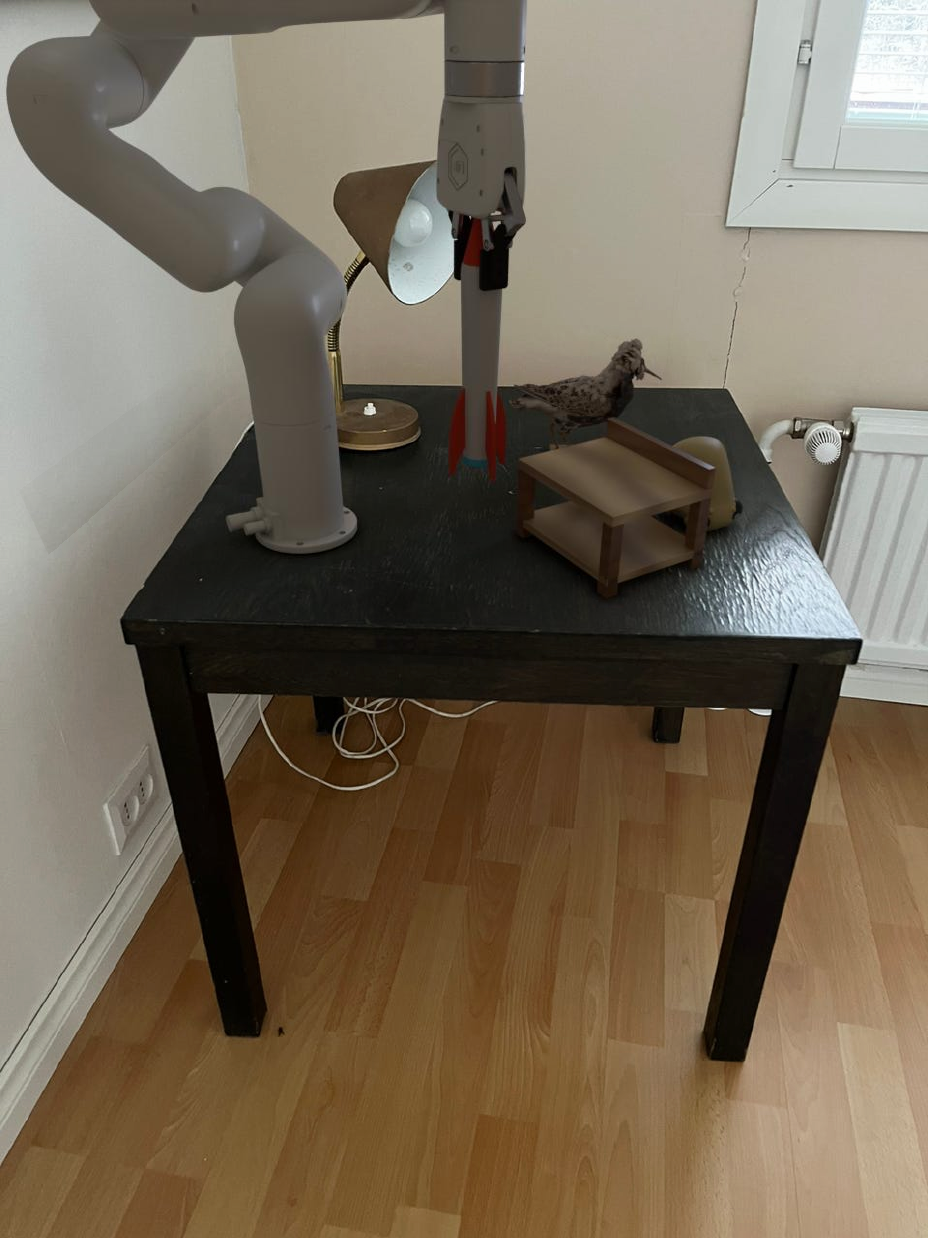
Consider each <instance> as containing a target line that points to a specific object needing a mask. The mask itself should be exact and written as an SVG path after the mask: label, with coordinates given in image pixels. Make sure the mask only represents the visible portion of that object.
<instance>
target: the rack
mask: <svg viewBox="0 0 928 1238" xmlns="http://www.w3.org/2000/svg"><path fill="white" fill-rule="evenodd" d="M571 445H572V446H568V447H564V448H560V449H556V450H552V451H549V450H547V451H544V452H539V453H536V454H532V455H527V456H523V457H520V458H519V457H518V459H517V460H518V461H517V464H518V465H517V492H516V495H517V497H516V528H515V534H516V535H518V536H519V537H520V538H521V539H526V538H530V537H533V536H534V537H536V538H537V539H539V540H540V541H541V542H543V543H544V544H545V545H547V546H549V547H550V548H552V549H553V550H554V551H556V552H557V553H558V554H560V555H561V556H562V557H564V558H565V559H566V560H568V561H569V562H571V563H572V564H574V565H575V566H577V567H578V568H580V569H581V570H582V571H584V572H585V573H587V574H588V575H589V576H591V577H592V578H593V579H595V580H596V581H597V589H596V592H597V594H599V595H600V596H601V597H603V598H604V599H608V598H611V597H615V596H617V594H618V586H619V583H622V582H626V581H629V580H632V579H635V578H638V577H640V576H644V575H647V574H649V573H653V572H656V571H659V570H662V569H665V568H667V567H671V566H674V565H676V564H680V563H681V565H682V566H684V567H685V568H687V569H689V570H694V569H697V568H700V567H702V562H703V561H702V560H703V554H704V548H705V543H706V542H705V541H706V534H707V531H706V529H707V523H708V516H709V509H710V503H711V497H712V490H713V484H714V477H715V471H716V468H715V467H713V466H711V465H709V464H707V463H705V462H703V461H701V460H699V459H697V458H695V457H693V456H691V455H689V454H687V453H685V452H683V451H681V450H679V449H677V448H674V447H672V446H673V445H670V444H669V443H666V442H665V441H662V440H661V439H658V438H657V437H655V436H653V435H650V434H648V433H646V432H644V431H642V430H640V429H638V428H637V427H634V426H632V425H630V424H628V423H626V422H624V421H622V420H620V419H618V418H614V417H612V418H608V419H607V422H606V430H605V437H601V438H596V439H592V440H588V441H585V442H581V443H577V444H571ZM537 481H538V482H540V483H541V484H542V485H545V486H546V487H547V488H549V489H551V490H552V491H554V492H555V493H557V494H558V495H560V496H562V497H563V498H565V499H567V500H568V501H565V502H561V503H558V504H554V505H550V506H546V507H543V508H540V509H536V488H537V487H536V485H537ZM689 504H690V508H689V516H688V523H687V526H686V531H685V535H683V534H681V533H680V532H678V531H676V530H675V529H673V528H671V527H669V526H668V525H666V524H664V523H662V522H661V521H660V520H658V519H656V518H654V517H653V516H655V515H658V514H662V513H665V512H669V511H670V510H672V509H675V508H679V507H682V506H685V505H689Z"/></svg>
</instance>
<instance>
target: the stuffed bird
mask: <svg viewBox="0 0 928 1238" xmlns="http://www.w3.org/2000/svg"><path fill="white" fill-rule="evenodd" d="M642 350H643V343H642V341H641V340H640V339H639V338H636V337H635V338H634V339H631V341H629V340H625V341H623V342H622V343H620V344H619V345H618V347H617V351H616V352H614V354H613V356H611V359H610V360H611V361H610V362H609V363H608V364H607V366H605V367H604V368H603V369H602V370H601V371H600V373H599V374H597V375H594V376H593V375H580V376H576V377H575V376H574V377H569V378H565V379H562V380H559V381H555V382H552V383H550V384H541V385H538V384H534V383H524V384H522V385H521V384H520V385H519V384H513V387H514V388H516V391H518V392H521V393H524V394H522V395H521V396H520V397H519V398H517V399H515V400H513V399H509V404H510V406H512V408H513V409H514V410H515V411H516V412H517V413H519V412H520V411H524V410H532V411H536V412H539V413H543V414H546V416H547V417H548V419H549V420H550V421H551V422H552V423H551V424H550V425H549V431H550V434H551V436H552V440H553V442H554V444H553V443H550V444H549V447H548V448H549V449H548V451H552V450H556V449H560V448H564V447H568V446H572V445H573V444H571V443H570V441H568V438H567V437H568V435H570V434H573V432H572V430H576V429H580V428H586V427H592V426H598V425H600V424H602V423H605V422H606V423H607V419H608V418H612V417H614V418H616V419H618V418H619V417H620V416H621V415H622V414H623V412H624V411H625V409H626V407H627V406H628V405H629V404H630V402H631V401H632V400H633V398H634V396H635V386H634V382H633V380H634V379H635V377H636V379H635V380H636V381H639V380H640V381H643V379H644V377H645V373H646V374H649V375H651V376H652V377H655V378H656V379H659V380H660V381H663V378H662V377H660V376H659V375H657V374H656V373H654V372H653V371H651V370H650V369H649V368H647V366H646V364H645V359H644V357H643V356H642ZM555 426H557V427H558V426H559V429H558V430H557V431H556V433H555V432H554V427H555ZM555 434H556V435H557V434H558V435H559V438H560V437H561V438H562V440H563V442H564V443H565V444H558V441H557V438H556V435H555Z"/></svg>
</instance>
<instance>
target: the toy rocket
mask: <svg viewBox="0 0 928 1238" xmlns="http://www.w3.org/2000/svg"><path fill="white" fill-rule="evenodd" d="M490 215H492V213H490ZM492 225H493V232H494V230H495V228H494V222H492ZM480 249H484V245H483V234H482V223H481V219H478V218H474V220H473V224H472V228H471V232H470V236H469V240H468V244H467V247H466V251H465V255H464V258H463V262H462V266H461V280H460V309H461V310H460V312H461V316H460V317H461V327H460V328H461V381H462V382H461V392H460V394H459V396H458V398H457V401H456V403H455V406H454V409H453V413H452V416H451V419H450V425H449V426H450V427H449V434H448V475H449V477H450V478H452V477H453V476H454V475H455V474H456V470H457V468H458V467H457V466H458V465H459V464H458V463H459V460H460V459H462V462H463V464H465V466H467V467H471V468H476V469H477V468H478V469H479V468H486V467H488V474H489V481H490V482H491V484H493V483H496V470H497V469H496V467H497V466H496V465H497V459H498V463H499V464H500V465H502V466H503V467H505V466H506V465H505V464H506V449H507V422H506V413H505V409H504V405H503V401H502V398H501V396H500V394H499V392H498V382H499V361H500V342H501V323H502V306H503V305H502V303H503V302H502V301H503V289H498V290H491V291H482V290H480V289H479V255H480ZM461 457H462V458H461Z"/></svg>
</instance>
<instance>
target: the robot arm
mask: <svg viewBox="0 0 928 1238" xmlns="http://www.w3.org/2000/svg"><path fill="white" fill-rule="evenodd" d="M88 2H89V3H90V6H91V8H92V9H93V11H94V13H95V15H97V17H98V18H99V21H98V23H97V24H96V26H95V27H94V29H93V31H92V32H91V33H90V35H83V36H82V35H81V36H62V37H61V36H60V37H52V38H47V39H43V40H39V41H37V42H35V43H32V44H30V45H28V46H27V47H25V48H23V50H21V52H19V53H18V54H17V55H16V56H15V58H14V60H13V61H12V63H11V65H10V67H9V70H8V74H7V77H6V88H5V91H6V92H5V96H6V105H7V111H8V114H9V118H10V122H11V125H12V128H13V131H14V134H15V135H16V138H17V141H18V142H19V144H20V146H21V148H22V149H23V151H24V153H25V154H26V156H27V157H28V159H29V160H30V162H31V163H32V164H33V165H34V167H35V168H36V169H37V171H39V172H40V174H41V175H42V176H43V177H44V178H45V179H46V180H48V181H49V182H50V184H52V185H53V186H54V187H55V188H56V189H58V190H59V191H60V192H62V194H64V195H65V196H67V197H68V198H69V199H70V200H72V201H73V202H74V203H76V204H77V205H79V206H80V207H82V208H83V209H84V210H86V211H87V212H88V213H90V214H91V215H93V216H94V217H95V218H97V219H98V220H99V221H101V222H102V223H103V224H105V225H106V226H107V227H109V228H110V229H111V230H112V231H113V232H115V233H116V234H117V235H118V236H120V237H121V238H122V239H123V240H124V241H125V242H127V243H128V244H130V245H131V246H132V247H133V248H135V249H136V250H137V251H138V252H140V253H141V254H143V255H144V256H145V257H147V259H149V260H150V261H152V262H153V263H154V264H156V265H157V266H158V267H159V268H160V269H162V270H163V271H165V272H166V273H167V275H169V276H171V277H172V278H173V279H175V280H176V281H177V282H179V283H180V284H182V285H183V286H185V287H186V288H188V289H189V290H192V291H195V292H199V293H204V294H205V293H213V292H217V291H219V290H222V289H224V288H226V287H227V286H229V285H231V284H232V283H234V282H235V283H237V284H238V285H239V286H240V287H242V288H241V290H240V291H239V294H238V295H237V298H236V300H235V301H236V302H235V305H234V310H233V327H234V333H235V337H236V342H237V345H238V349H239V352H240V356H241V358H242V362H243V363H242V364H243V366H244V370H245V375H246V381H247V385H248V391H249V401H250V407H251V414H252V419H253V427H254V434H255V441H256V450H257V457H258V466H259V474H260V481H261V489H262V497H256V499H255V500H256V506H253V507H250V510H249V511H245V512H238V513H233V514H230V515H226V517H225V522H226V525H227V528H228V530H229V532H236V531H239V530H243V531H244V534H245V536H251V535H255V539H256V540H257V541H258V543H260V544H261V545H262V546H263V547H265V548H266V549H269V550H272V551H275V552H280V553H283V554H291V555H303V554H304V555H305V554H315V553H321V552H325V551H329V550H332V549H335V548H338V547H339V546H342V545H343V544H345V543H347V542H348V541H350V540H351V539H352V538H353V537H354V536H355V535H356V532H357V531H358V519H357V516H356V514H355V513H354V512H353V511H352V510H351V509H349V508H347V507H345V506H344V499H343V486H342V474H341V472H342V471H341V461H340V460H341V459H340V449H339V447H340V446H339V435H338V425H337V423H338V422H337V412H336V411H337V410H336V401H335V391H334V390H335V389H334V382H333V376H332V371H331V368H330V367H331V366H330V363H329V359H328V355H327V350H326V342H325V341H326V336H327V334H328V333H329V332H330V331H331V330H332V329H333V328H334V326H335V325H336V324H337V323H338V322H339V321H340V320H341V318H342V316H343V314H344V312H345V310H346V307H347V302H348V288H347V284H346V283H347V282H346V279H345V277H344V275H343V273H342V271H341V270H340V268H339V267H338V266H337V264H336V263H335V262H334V261H333V260H332V259H331V258H330V257H329V256H328V255H327V254H326V253H325V252H324V250H322V249H320V248H319V247H318V246H317V245H316V244H314V243H313V242H312V241H311V240H309V239H308V238H307V237H306V236H305V235H303V234H302V233H301V232H300V231H298V230H297V229H296V228H295V227H293V226H292V224H289V222H287V221H286V219H285V220H284V219H283V218H282V217H281V216H279V214H277V213H276V212H275V211H274V210H272V209H271V208H270V207H268V206H267V205H266V204H264V203H263V202H262V201H260V200H259V199H258V198H256V197H254V196H253V195H251V194H249V193H247V192H246V191H244V190H241V189H238V188H234V187H231V186H215V187H210V188H207V189H204V190H202V191H200V190H199V191H198V190H196V189H195V188H192V187H191V186H190V185H188V184H187V183H185V182H184V181H182V180H181V179H180V178H178V177H177V176H176V175H175V174H174V173H172V172H171V171H169V170H168V169H167V168H166V167H164V166H163V165H162V164H161V163H160V162H159V161H158V160H156V159H155V158H154V157H152V156H151V155H150V154H149V153H146V152H145V151H143V150H141V149H139V148H138V147H136V146H134V145H133V144H131V143H129V142H128V141H126V140H124V139H122V138H121V137H119V136H117V135H116V134H115V133H114V132H112V131H111V129H115V128H119V127H123V126H126V125H129V124H131V123H133V122H135V121H136V120H138V119H139V118H140V117H142V116H143V114H144V113H146V111H148V109H150V107H151V105H152V104H153V102H154V101H155V100H156V98H157V97H158V95H159V94H160V93H161V91H162V89H163V88H164V86H165V85H166V84H167V82H168V80H170V77H172V74H173V73H174V72H175V70H176V68H177V67H178V66H179V64H180V62H181V61H182V60H183V58H184V57H185V56H186V54H187V52H188V50H189V48H190V47H191V45H192V44H193V42H194V41H195V39H196V38H206V37H221V36H241V35H258V34H269V33H274V32H275V31H277V30H279V29H282V28H285V27H286V28H287V27H292V26H302V25H316V24H330V23H347V22H364V21H365V22H366V21H391V20H392V21H393V20H411V19H418V18H424V17H429V16H435V15H443V23H444V24H443V30H444V31H443V55H444V56H443V59H444V60H443V99H442V105H441V109H440V116H439V125H438V126H439V127H438V134H437V135H438V138H437V152H436V177H435V178H436V179H435V180H436V182H435V183H436V184H435V185H436V187H435V189H436V190H435V192H436V193H435V195H436V201H437V202H438V204H439V205H440V206H442V208H445V210H446V212H447V216H448V218H449V221H450V224H451V227H450V228H451V229H450V234H451V238H452V239H453V279H454V280H455V281H460V282H461V266H462V262H463V258H464V255H465V251H466V247H467V244H468V240H469V236H470V232H471V228H472V224H473V220H474V218H478V219H481V223H482V234H483V245H484V249H480V255H479V289H480V290H482V291H491V290H498V289H502V290H504V289H507V288H508V286H509V267H510V249H512V248H513V244H514V238H515V237H516V235H517V233H518V232H519V231H520V230H521V229H522V228H524V226H525V224H526V222H527V218H526V217H527V216H526V214H525V210H524V204H525V196H526V181H527V180H526V179H527V155H526V153H527V152H526V149H527V148H526V146H527V145H526V126H525V114H524V105H523V102H524V92H525V69H526V67H525V63H526V62H525V61H526V37H527V36H526V34H527V16H528V15H527V12H528V0H88ZM496 212H498V213H500V214H495V213H496ZM490 213H491V215H490ZM492 222H493V223H495V222H496V223H497V222H499V223H498V224H497V226H496V227H495V228H494V232H493V226H494V224H493V225H492Z"/></svg>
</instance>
